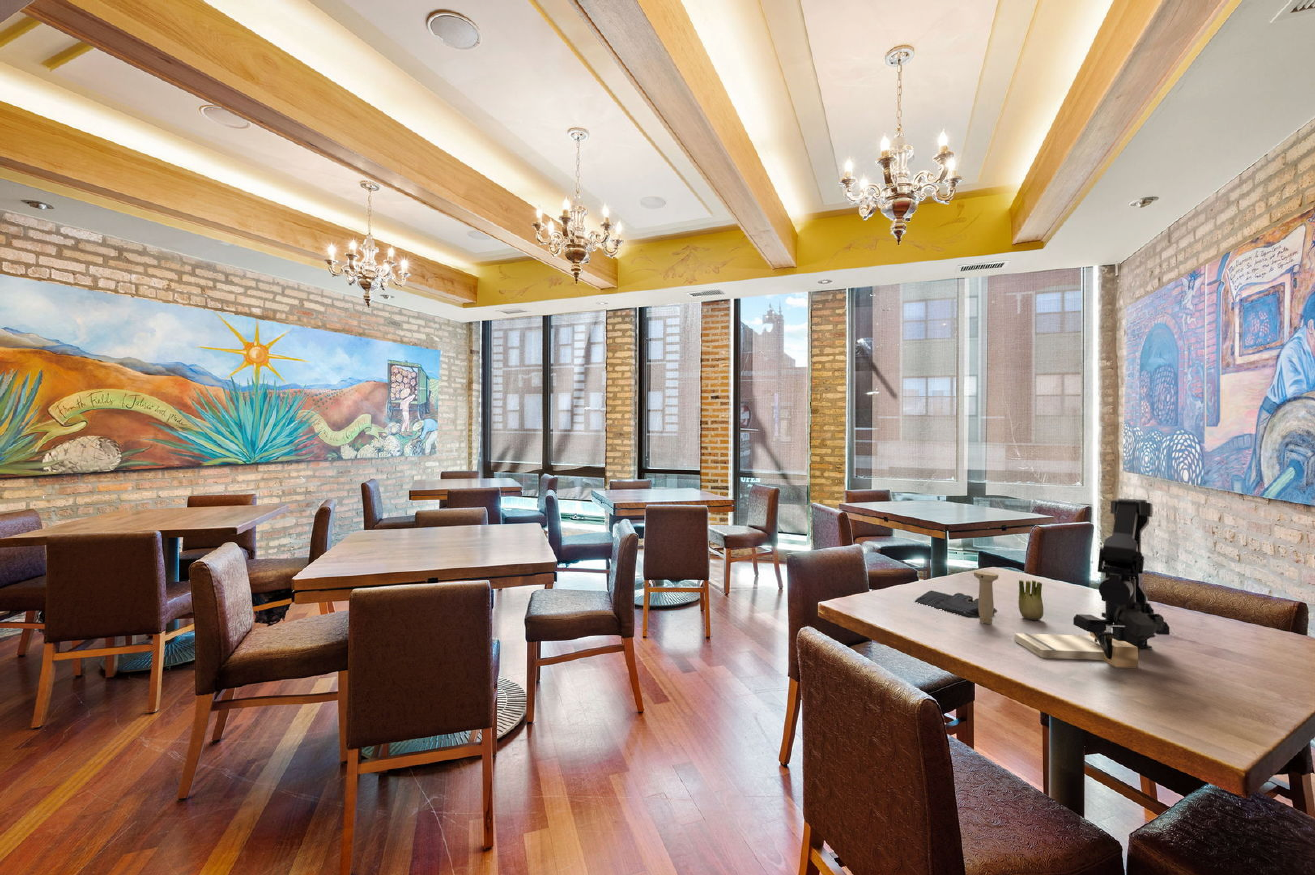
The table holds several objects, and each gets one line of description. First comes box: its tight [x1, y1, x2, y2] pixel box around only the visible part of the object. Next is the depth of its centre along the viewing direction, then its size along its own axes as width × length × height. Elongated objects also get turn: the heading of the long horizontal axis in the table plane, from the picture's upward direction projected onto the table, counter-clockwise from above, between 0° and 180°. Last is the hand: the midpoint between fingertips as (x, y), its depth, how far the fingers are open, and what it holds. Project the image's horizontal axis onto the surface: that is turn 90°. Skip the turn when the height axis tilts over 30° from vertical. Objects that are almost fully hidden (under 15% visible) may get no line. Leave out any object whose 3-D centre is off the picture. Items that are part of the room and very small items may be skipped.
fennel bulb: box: [1018, 579, 1044, 621], centre depth 168 cm, size 6×5×12 cm
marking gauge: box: [1089, 632, 1139, 669], centre depth 137 cm, size 5×11×5 cm, turn 176°
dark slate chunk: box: [914, 589, 998, 619], centre depth 181 cm, size 15×22×5 cm
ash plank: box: [1014, 632, 1104, 661], centre depth 143 cm, size 20×12×2 cm, turn 86°
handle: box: [973, 570, 999, 625], centre depth 165 cm, size 5×6×15 cm
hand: (1120, 659), depth 134 cm, fingers closed on marking gauge, 5 cm apart
